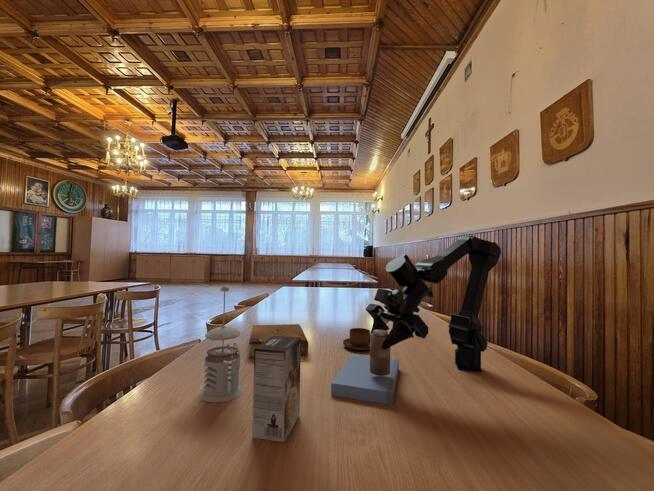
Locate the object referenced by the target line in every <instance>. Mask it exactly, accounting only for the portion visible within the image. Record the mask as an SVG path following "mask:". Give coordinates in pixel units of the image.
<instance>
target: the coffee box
mask: <svg viewBox="0 0 654 491" xmlns="http://www.w3.org/2000/svg"><path fill="white" fill-rule="evenodd" d="M252 386H253V388H252V390H253V392H252V393H253V395H252V399H253V400H252V431H251V436H252V438H253V439H259V440H267V441H274V442H278V443H279V442H280V443H284V442H285V441H286V440H287V438H288V437H289V435H290V433H291V431H292V429H293V428H294V426H295V425H296V422H297V421H298V419H299V417H300V405H301V404H300V403H301V402H300V401H301V400H300V398H301V394H300V392H301V391H300V390H301V337H286V336H272V337H270V338H269V339H267V340H266V341H265V342H263V343H262V344H260V345H259V346H257V347H256V348H254V359H253V385H252Z"/></svg>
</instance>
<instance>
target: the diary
mask: <svg viewBox="0 0 654 491" xmlns="http://www.w3.org/2000/svg"><path fill="white" fill-rule="evenodd" d="M272 336H286V337H301V357H302V358H303V357H307V356H308V355H309V341H308V339H307V337H306V335H305V332H304V330H303V328H302V327H301V325H300V324H299V323H294V324H293V323H292V324H285V323H284V324H254V325H253V324H252V328H251V333H250V336H249V344H248V345H250V349H249V354H248V360H252V359H253V360H254V348H256V347H257V346H259V345H260V344H262V343H263V342H265V341H266V340H267V339H269V338H270V337H272Z"/></svg>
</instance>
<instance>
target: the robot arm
mask: <svg viewBox="0 0 654 491" xmlns="http://www.w3.org/2000/svg"><path fill="white" fill-rule="evenodd" d="M501 254H502V248H501V247H500V246H499V244H497V243H496V242H494V241H489V240H485V239H483V238H479V237H477V236H474V235H464V236H461V237H460V236H459V238H458V239H457V240H456V241H454V242H453V243H452V244H450V245H449V246H448V247H446V248H445V249H444V250H442V251H441V252H439V253H438V254H437V255H435V256H432V257H428V258H424V259H422V260H420V261H419V262H416V263H415V265H414V263H413V262H412V261H411V259H410V257H409V256H408V254H406V253H405V254H399V256H398V257H395V258H393V259H392V260H391V261H389V262H388V263H387V264H386V266H385V271H386V272H387V273H388V275H389V276H390V277H391V278H392V279H393V281H394V282H395V284H396V285H397V286H398V287H403V288H402V289H401V290H400V289H394V290H393V291H392V290H389V289H385V288H379V287H378V288H377V289H376V293H375V296H374V298H373V300H374V301H376V302H379V303H381V304H383V306H382V305H380V304H377V303H369V304H368V306H366V308H365V311H366V312H367V313H368V314H369V315H370V317H372V320H373V324H372V326H371V330H370V334H372V333H373V330H377V329H381V330H386V331H388V330H390V326H388V325H387V324H388V323H389V322H392V328H391V330H390V331H389V332H388V336H387V337H386V339H385V341H384V342H383V344H382V346H381V348H382V349H383V350H386V349H387V348H389V347H390V348H391V347H393V346H395V345H397V344H399V343H401V342H403V341H406V340H408V339H410V338H412V339H413V338H414V337H415V336H416V337H417V338H421V339H423V340H425V339H426V337H427V335H428V334H429V326H428V325H427V324H426V322H425V321H424V320H423V318H422V317H421V316H420V315H419V312H420V310H421V309H420V308H419V305H420V304H421V303H422V302H423V300H424V298H425V297H427V298H434V293H433V287H431V286H429V285H428V284H436V285H437V284H440V283H441V282H442V281H443V280H444V279H445V278H446V276H448V272H449V269H450V268H451V267H452V266H453V265H455V264H456V263H457V262H458V261H460V260H461V259H463V258H464V257H465V256H466V255H468V260H469V263H470V265H471V267H470V272H469V276H468V281H467V284H466V289H465V292H464V296H463V299H462V304H461V307H460V308H461V309H460V311H459V312H458V313H457V314H455V313H452V315H451V316H450V321H449V324H448V325H447V327H448V334H449V336H450V337H449V338H450V342H451V344H452V345H456V348H455V349H454V364H455V366H456V367H457V369H458V370H461V371H468V372H475V373H483V369H482V352H485V351H486V350H487V348H488V343H489V342H488V341H487V340H486V337H484V335H483V334H482V324H481V321H480V317H479V315H480V310H481V306H482V302H483V298H484V294H485V289H486V287H487V286H486V285H487V282H488V278H489V274H490V271H491V270H492V269H493V268H494V267H496V265H497V264H498V262H499V259H500V256H501ZM427 283H428V284H427ZM383 307H384V308H383ZM386 310H387V311H386ZM415 313H416V314H415ZM417 313H418V314H417ZM414 334H415V335H414ZM368 342H369V343H370V336H369V340H368Z"/></svg>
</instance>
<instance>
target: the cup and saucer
mask: <svg viewBox="0 0 654 491" xmlns="http://www.w3.org/2000/svg"><path fill="white" fill-rule="evenodd" d="M370 333H371V330H370V329H367V328H361V327H353V328H350V329H349V337H348V338H345V339H344V340H343V341H342V345H344V346H345V348H348V349H350V350H354V351H368V350H369V351H370V343H369V342H368V340H369V336H370Z"/></svg>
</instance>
